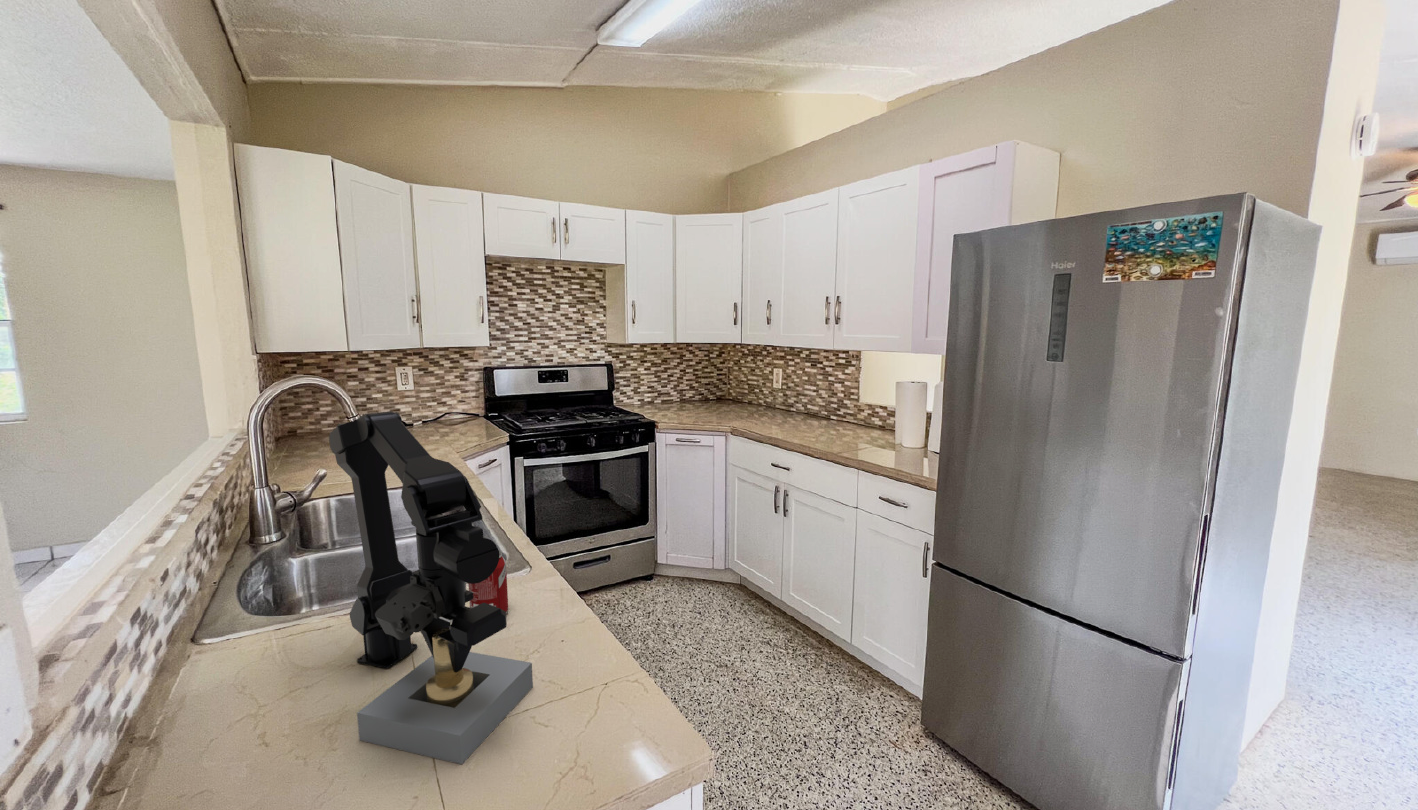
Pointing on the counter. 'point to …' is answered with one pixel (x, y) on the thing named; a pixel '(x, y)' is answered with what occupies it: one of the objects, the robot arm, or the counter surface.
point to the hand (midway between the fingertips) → (448, 666)
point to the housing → (445, 709)
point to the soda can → (492, 588)
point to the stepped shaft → (447, 677)
